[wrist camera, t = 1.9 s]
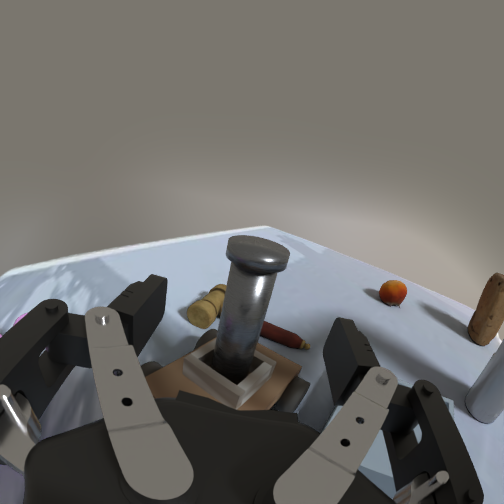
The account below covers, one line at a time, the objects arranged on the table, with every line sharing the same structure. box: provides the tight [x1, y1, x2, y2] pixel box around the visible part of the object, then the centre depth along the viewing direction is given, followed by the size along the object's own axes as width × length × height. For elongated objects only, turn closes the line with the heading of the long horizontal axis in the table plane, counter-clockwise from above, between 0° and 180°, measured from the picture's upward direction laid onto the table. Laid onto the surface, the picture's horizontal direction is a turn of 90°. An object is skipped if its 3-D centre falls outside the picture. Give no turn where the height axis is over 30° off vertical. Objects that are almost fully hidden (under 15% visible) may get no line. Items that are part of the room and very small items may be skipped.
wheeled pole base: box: [141, 329, 310, 413], centre depth 28 cm, size 16×15×8 cm
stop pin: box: [211, 235, 290, 385], centre depth 25 cm, size 5×5×15 cm
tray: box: [320, 378, 454, 498], centre depth 26 cm, size 18×18×4 cm
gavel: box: [187, 284, 310, 349], centre depth 46 cm, size 21×5×10 cm
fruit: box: [379, 280, 407, 307], centre depth 70 cm, size 8×8×8 cm
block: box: [468, 273, 504, 346], centre depth 53 cm, size 11×8×20 cm
